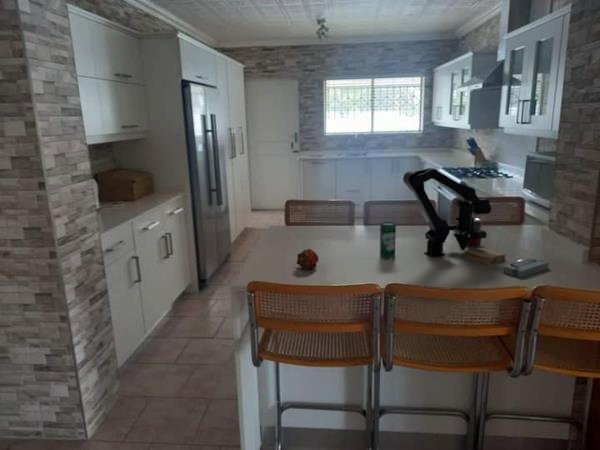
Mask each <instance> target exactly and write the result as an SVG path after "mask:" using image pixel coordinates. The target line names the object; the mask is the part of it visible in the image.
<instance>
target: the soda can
mask: <svg viewBox="0 0 600 450" xmlns="http://www.w3.org/2000/svg"><path fill="white" fill-rule="evenodd" d="M473 218H474V221H476V222H479V223H481V225H480V228H479V230H482V229H483V220H482V219H481V218H478V217H473ZM474 230H477V229H474ZM474 230H472V231H474ZM466 232H467V231H466ZM481 244H482V239H473V238H471V239H470V240H469V242H468V244H467V246H466V247H473V248H475V247H476V248H478V247H480V246H481Z"/></svg>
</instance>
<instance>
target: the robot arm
mask: <svg viewBox="0 0 600 450" xmlns="http://www.w3.org/2000/svg"><path fill="white" fill-rule="evenodd" d="M402 180H403V182H404V184H405V186H406V187H407V188H408V189H409V190H410V191H411V192H412V193H413V194H414V196H415V198H416V200H417V201H418V204H419V205H420V207H421V210H422V211H423V213H424V215H425V216H426V218H427V220H428V227H429V230H427V231H426V232H425V234H424V237H425V239H426V240H427V241H426V243H427V244H426V251H425V252H423V254H424V255H426V256H430V257H433V258H437V257H442V256H445V255H446V253H445V252H444V244H445V242H446V240H447V238H448V236H449V235H450V231H452V232H453V234H452V236H454V238H455V239H456V241H457V243H458V246H459V248H460V250H461V251H466V248H467V247H468V246H467V244H468V242H469V240H470V239H471V238H473V239H481V240H483V239H486V238H487V231H486V230H479V228H480V225H481V223H479V222H476V221H474V218H475V217H473V215H475V216H478V215H479V216H480V215H489V214H490V213H491V211H492V206H491V203H490V199H489V198H479V197H478V196H477V191H476V189H475V188H474V187H471V186H468V185H465V184H462V183H459V182H458V181H456V180H454V179H452V178H451V177H449V176H448V175H446V174H444V173H442V172H440V171H439V170H438V169H436V168H434V167H428V168H424V169H420V170H416V171H415V170H414V171H412V170H410V171H407V172H405V173H404V175H403V178H402ZM429 180H434V181H435V182H437V183H439V184H440V185H443V186H444V187H445V188H447V189H449V190H450V191H451V192H453V194H454V195H456V196H457V198H459V199H457V200H456V201H455V202H454V203H453V205H454V206H457V207H458V211H457V217H455V220H456V221H457V224H456V223H455V224H454V223H448V221H447V220H446V219H445V218H443V217H441V216H439V214H438V213H437V211H436V209H435V207H434V205H433V203H432V201H431V200H430V198H429V196H428V194H427V192H426V190H425V182H428V181H429ZM461 199H462V200H463V201H462V200H461ZM474 229H477V230H474ZM472 230H474V231H472ZM466 231H467V232H466Z"/></svg>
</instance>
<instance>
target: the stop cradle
mask: <svg viewBox="0 0 600 450" xmlns="http://www.w3.org/2000/svg"><path fill="white" fill-rule="evenodd" d="M531 258H532V259H533V261H534V263H531V264H528V265H524V266H521V267H518V268H515V267H511V265H504V266H503V267H502V268H503V269H502V272H503V273H504V274H507V275H510V276H513V277H516V278H521V279H522V278H524V277H526V275H527V276H529V274H530V275H532V274H531V273H533V274H535V273H534V272H536V273H538V272H537V271H539V272H541V271H544V270H547V269H549V264H550V262H549V261H547V260H543V259H539V258H536V257H535V258H534V257H531ZM546 268H547V269H546ZM543 269H544V270H543ZM540 270H541V271H540Z"/></svg>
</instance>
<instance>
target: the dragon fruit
mask: <svg viewBox="0 0 600 450" xmlns="http://www.w3.org/2000/svg"><path fill="white" fill-rule="evenodd" d="M296 256H297V261H296V265H299V266H300V267H301V268H303V269H304V270H306V269H308V270H310V269H311V268H312V269H315V268H317V263H318V262H319V255H317V253H316V252H315V251H314V250H313V249H311V248H307V249H304V250H302V251H301V252H300V253H299V252H298V253H297V255H296Z"/></svg>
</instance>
